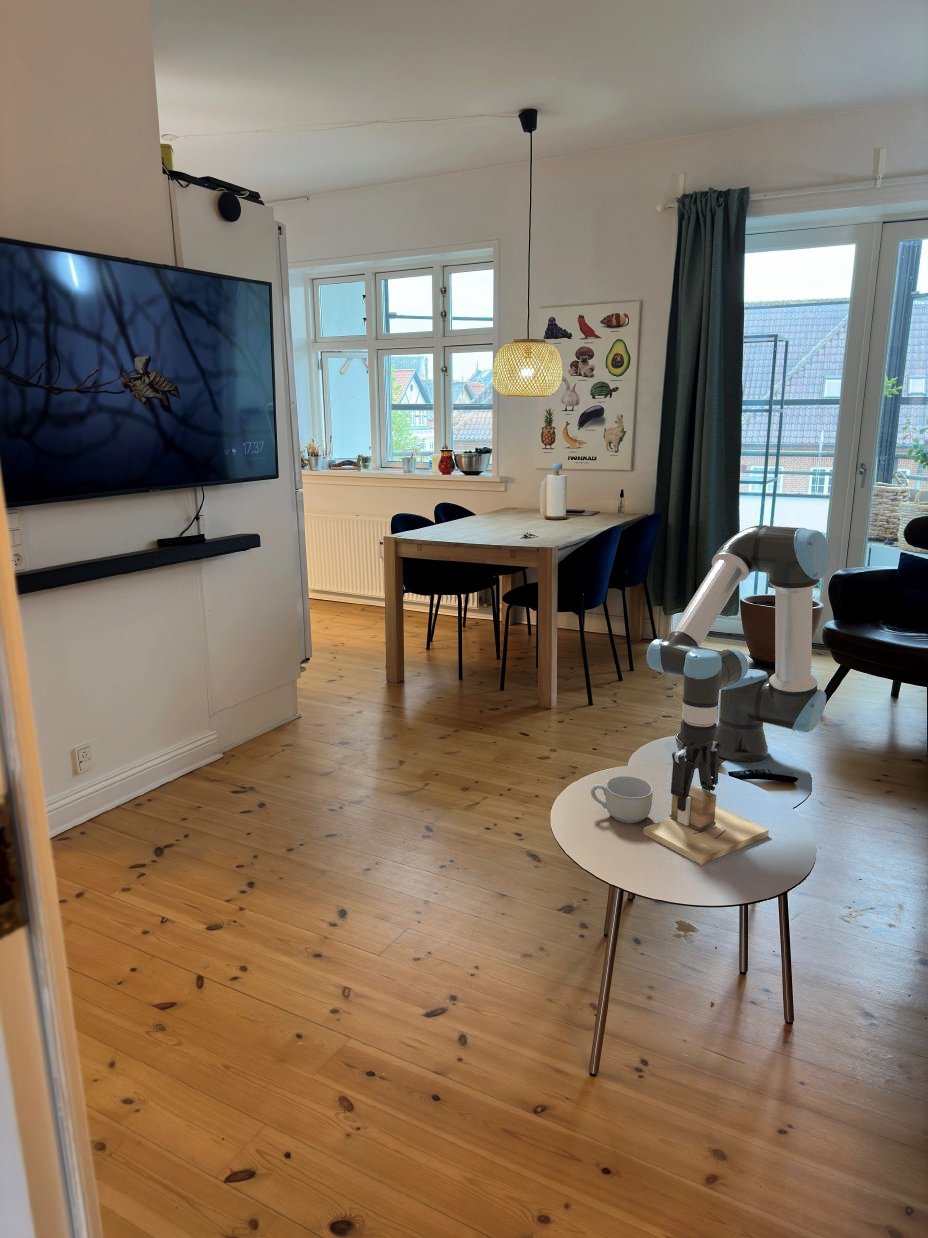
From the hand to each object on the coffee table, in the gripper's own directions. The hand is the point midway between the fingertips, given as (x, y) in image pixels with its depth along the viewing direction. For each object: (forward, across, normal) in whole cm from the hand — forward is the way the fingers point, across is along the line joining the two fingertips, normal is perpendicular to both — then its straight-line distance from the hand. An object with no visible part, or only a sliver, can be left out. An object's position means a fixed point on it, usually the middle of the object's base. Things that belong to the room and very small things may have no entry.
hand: (692, 819), depth 181 cm
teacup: (+2, +9, -13) cm, 16 cm away
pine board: (+2, 0, +4) cm, 4 cm away
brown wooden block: (0, 0, 0) cm, 0 cm away
